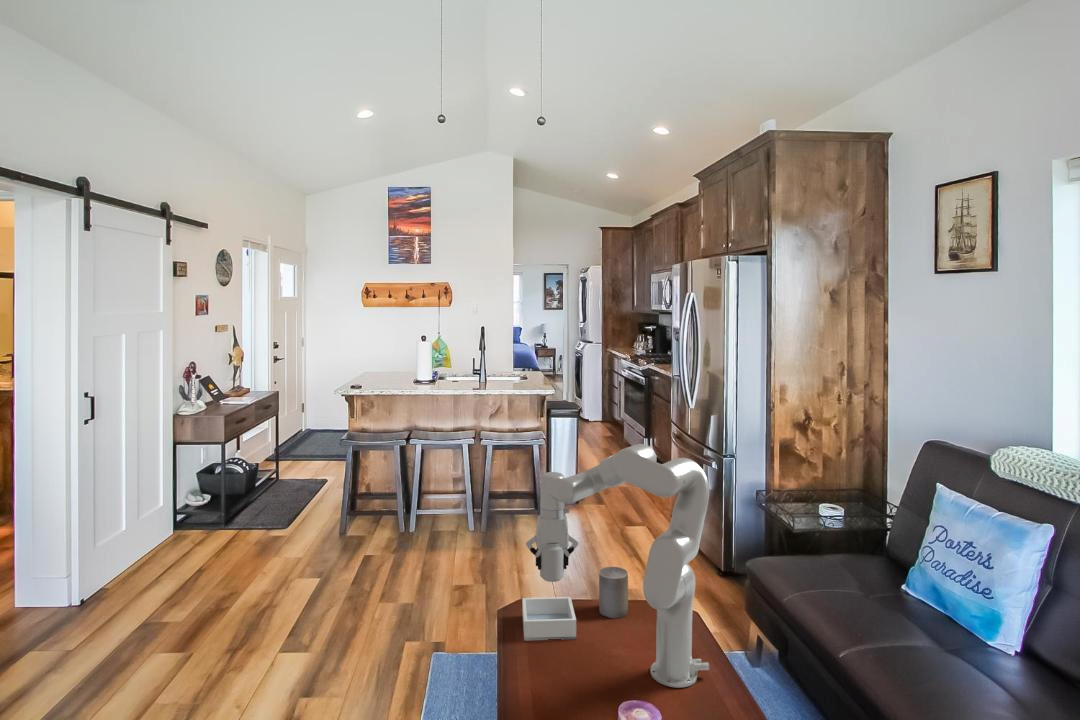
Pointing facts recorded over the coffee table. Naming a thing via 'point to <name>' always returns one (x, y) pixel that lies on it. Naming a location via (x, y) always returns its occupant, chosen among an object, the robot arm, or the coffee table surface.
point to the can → (552, 563)
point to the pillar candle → (613, 592)
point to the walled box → (548, 618)
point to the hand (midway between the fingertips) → (551, 567)
